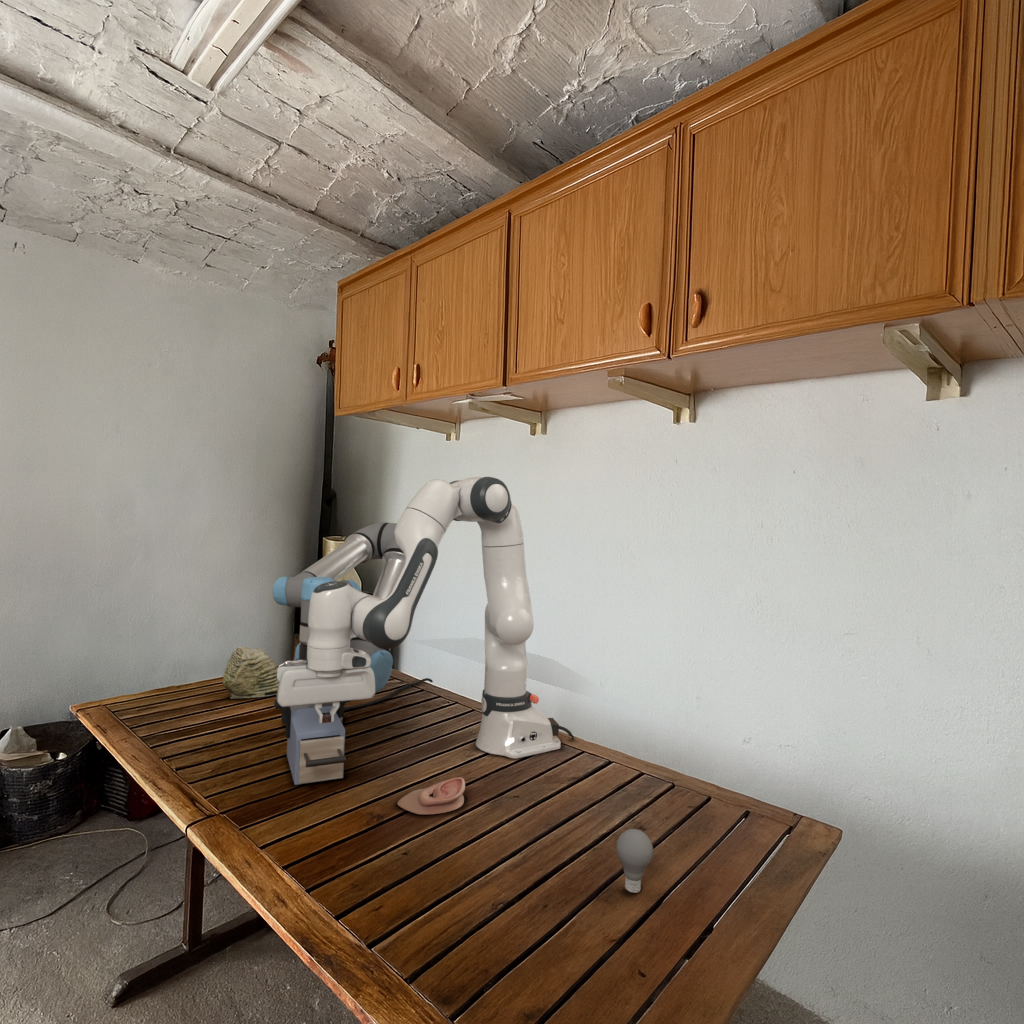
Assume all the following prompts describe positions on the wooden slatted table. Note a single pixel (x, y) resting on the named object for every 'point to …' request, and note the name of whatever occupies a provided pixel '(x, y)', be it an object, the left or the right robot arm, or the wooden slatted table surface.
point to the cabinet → (309, 733)
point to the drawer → (321, 759)
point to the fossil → (250, 674)
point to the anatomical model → (435, 798)
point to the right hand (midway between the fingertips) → (326, 722)
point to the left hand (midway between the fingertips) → (312, 733)
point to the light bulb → (634, 857)
